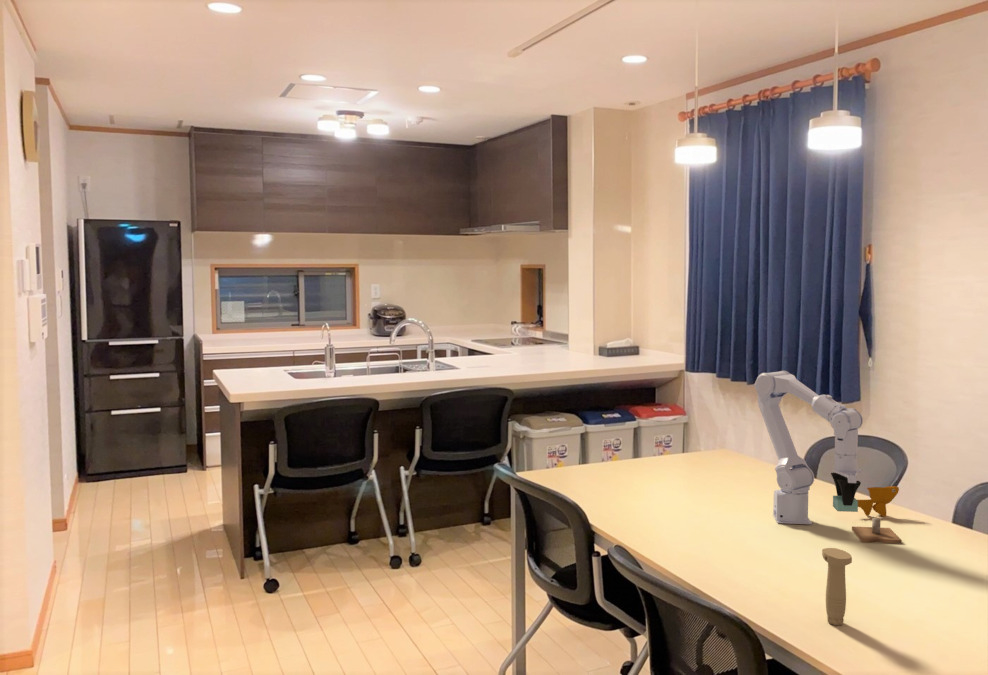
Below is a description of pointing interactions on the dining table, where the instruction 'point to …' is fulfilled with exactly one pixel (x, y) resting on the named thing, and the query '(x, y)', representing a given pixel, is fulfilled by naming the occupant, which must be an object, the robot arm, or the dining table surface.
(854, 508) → the collar
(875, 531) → the post block
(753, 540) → the dining table surface
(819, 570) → the dining table surface
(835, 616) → the handle
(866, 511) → the toy
